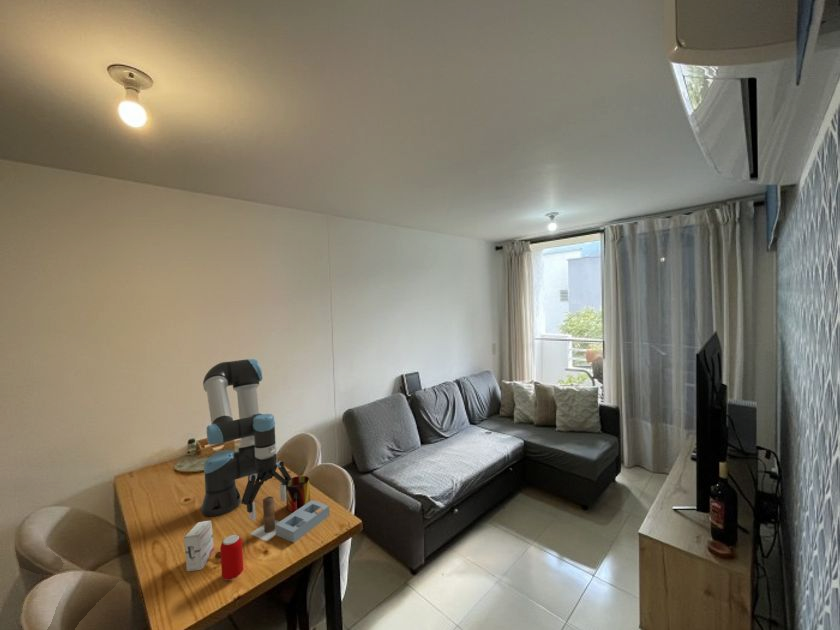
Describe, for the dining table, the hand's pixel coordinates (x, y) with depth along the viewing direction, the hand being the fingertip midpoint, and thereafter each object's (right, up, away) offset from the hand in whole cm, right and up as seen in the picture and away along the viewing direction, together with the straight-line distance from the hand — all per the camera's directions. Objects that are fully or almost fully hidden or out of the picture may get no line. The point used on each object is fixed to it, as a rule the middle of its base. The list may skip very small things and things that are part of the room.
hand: (268, 509), depth 130 cm
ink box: (-17, -10, -14) cm, 25 cm away
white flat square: (0, -9, 0) cm, 9 cm away
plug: (0, -8, 0) cm, 8 cm away
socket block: (+13, -8, +2) cm, 16 cm away
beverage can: (-2, -10, -21) cm, 23 cm away
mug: (+7, -9, +14) cm, 18 cm away
